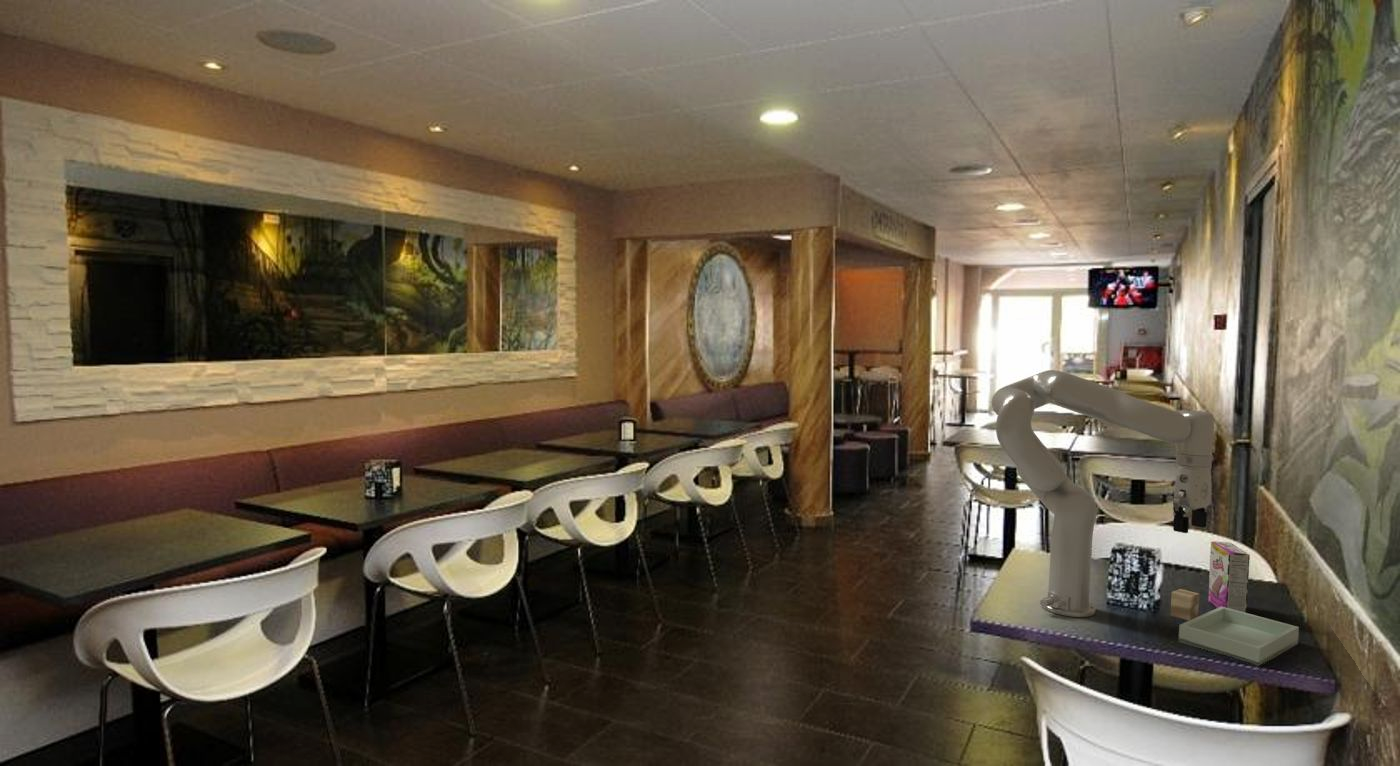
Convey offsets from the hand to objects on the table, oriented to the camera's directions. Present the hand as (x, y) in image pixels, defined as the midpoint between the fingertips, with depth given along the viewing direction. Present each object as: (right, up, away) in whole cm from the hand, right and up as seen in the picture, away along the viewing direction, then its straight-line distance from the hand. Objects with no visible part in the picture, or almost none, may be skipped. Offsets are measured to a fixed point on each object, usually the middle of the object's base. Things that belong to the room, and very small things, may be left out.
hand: (1189, 529), depth 198 cm
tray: (+2, -23, -15) cm, 28 cm away
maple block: (0, -22, +2) cm, 22 cm away
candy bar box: (+13, -22, +6) cm, 27 cm away
